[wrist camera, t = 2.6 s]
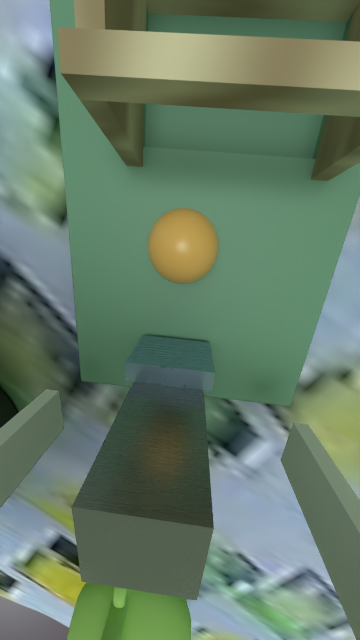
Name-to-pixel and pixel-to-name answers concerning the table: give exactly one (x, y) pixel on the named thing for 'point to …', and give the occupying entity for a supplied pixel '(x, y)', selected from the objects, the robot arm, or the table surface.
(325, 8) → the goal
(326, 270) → the board
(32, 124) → the table surface
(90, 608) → the teapot
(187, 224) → the ball
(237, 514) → the table surface
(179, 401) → the block
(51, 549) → the table surface
